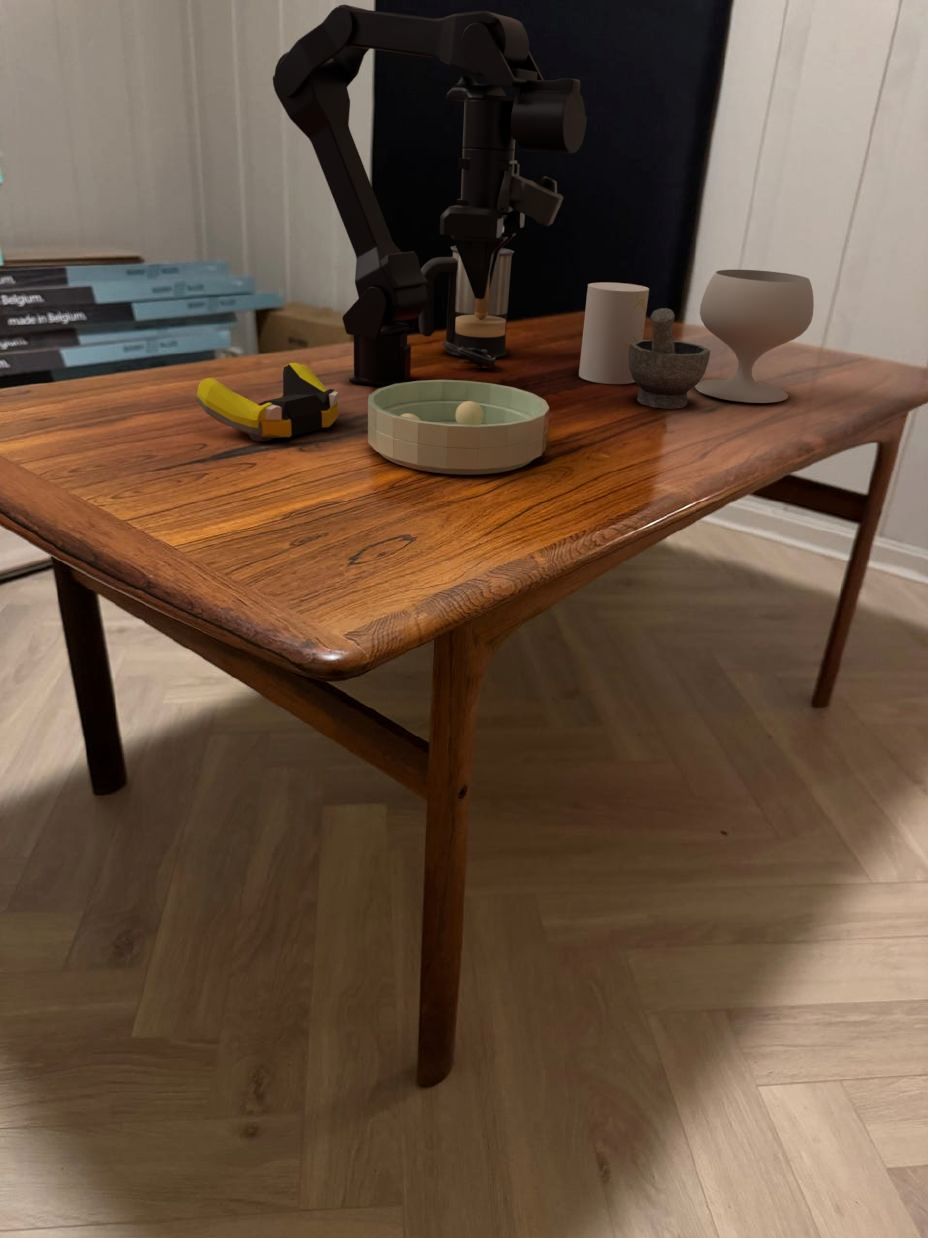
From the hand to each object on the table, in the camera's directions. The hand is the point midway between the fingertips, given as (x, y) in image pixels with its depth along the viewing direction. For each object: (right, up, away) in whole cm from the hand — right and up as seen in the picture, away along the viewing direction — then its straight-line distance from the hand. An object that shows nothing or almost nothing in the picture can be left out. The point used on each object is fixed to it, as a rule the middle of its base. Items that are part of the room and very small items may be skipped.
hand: (481, 297), depth 109 cm
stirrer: (0, -4, +2) cm, 4 cm away
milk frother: (-1, 0, +27) cm, 27 cm away
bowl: (-3, -20, -13) cm, 24 cm away
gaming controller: (-22, -17, -9) cm, 30 cm away
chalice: (+35, -8, +15) cm, 39 cm away
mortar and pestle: (+23, -11, +8) cm, 27 cm away
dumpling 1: (-8, -19, -15) cm, 25 cm away
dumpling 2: (-2, -16, -10) cm, 19 cm away
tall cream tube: (+18, -4, +20) cm, 27 cm away
